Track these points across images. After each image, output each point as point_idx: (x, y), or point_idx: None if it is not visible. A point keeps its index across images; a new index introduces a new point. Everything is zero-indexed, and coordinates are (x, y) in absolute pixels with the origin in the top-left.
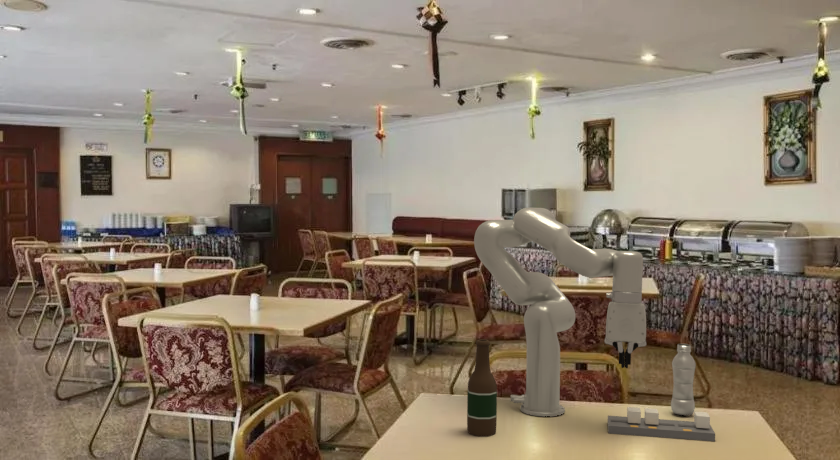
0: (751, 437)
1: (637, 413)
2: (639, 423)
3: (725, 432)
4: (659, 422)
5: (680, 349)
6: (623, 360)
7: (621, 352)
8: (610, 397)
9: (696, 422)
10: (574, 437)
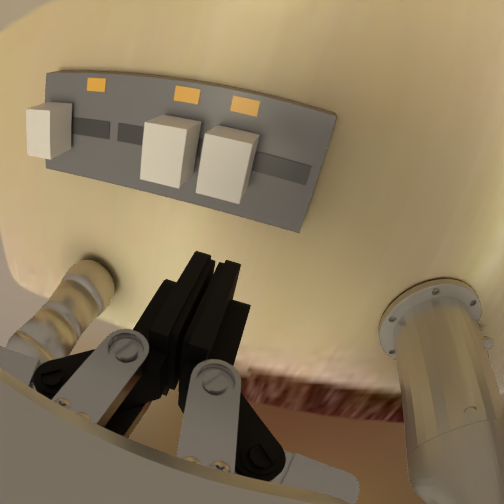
0: (4, 123)
1: (218, 134)
2: None
3: None
4: None
5: None
6: (214, 294)
7: (212, 359)
8: None
9: (62, 106)
10: (452, 86)
